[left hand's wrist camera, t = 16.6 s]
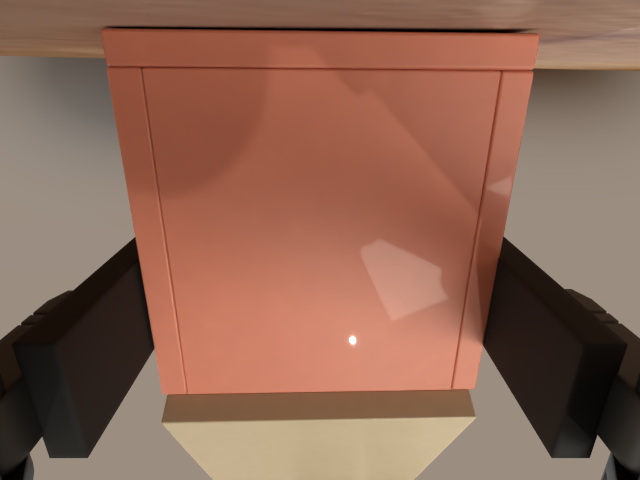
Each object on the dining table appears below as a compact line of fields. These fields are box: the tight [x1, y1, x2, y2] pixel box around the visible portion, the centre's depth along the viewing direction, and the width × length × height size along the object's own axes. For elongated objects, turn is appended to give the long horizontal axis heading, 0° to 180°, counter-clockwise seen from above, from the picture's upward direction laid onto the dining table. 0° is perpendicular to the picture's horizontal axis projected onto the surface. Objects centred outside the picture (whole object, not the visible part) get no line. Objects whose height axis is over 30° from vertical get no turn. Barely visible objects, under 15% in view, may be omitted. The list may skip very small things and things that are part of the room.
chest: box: [101, 28, 540, 394], centre depth 17 cm, size 14×9×9 cm, turn 178°
